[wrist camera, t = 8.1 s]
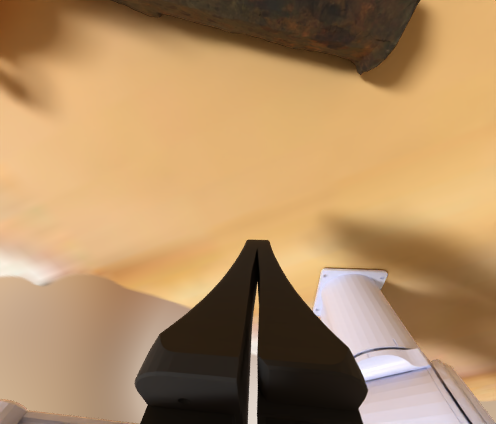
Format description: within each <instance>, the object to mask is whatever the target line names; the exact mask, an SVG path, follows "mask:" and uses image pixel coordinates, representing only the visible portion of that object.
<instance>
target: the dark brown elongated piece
mask: <svg viewBox="0 0 496 424" xmlns="http://www.w3.org/2000/svg"><path fill="white" fill-rule="evenodd" d="M112 1H114V2H117V3H121V4H123V5H126V6H129V7H130V8H132V9H134V10H136V11H139V12H141V13H144V14H146V15H148V16H153V17H160V16H161V15H162V14H166V15H170V16H174V17H177V18H181V19H185V20H188V21H192V22H195V23H199V24H203V25H207V26H211V27H215V28H218V29H221V30H224V31H227V32H231V33H241V34H246V35H250V36H253V37H258V38H262V39H264V40H267V41H269V42H274V43H277V44H280V45H283V46H287V47H290V48H293V49H305V50H308V51H318V52H322V53H326V54H332V55H336V56H339V57H342V58H346V59H349V60H350V61H352V62H353V63H354V64H355V65H356V69H357V72H358V73H359V74H360V75H361V74H362V73H363V72H366V71H369V70H371V69H373V68H375V67H377V66H378V65H379V64H380V63H381V62H382V61H383V60H385V59H386V58H387V56H388V55H389V54H390V53H391V52H392V50H393V49H394V48H395V46H396V45H397V43H398V41H399V39H400V37H401V35H402V33H403V31H404V29H405V28H406V26H407V24H408V22H409V20H410V18H411V16H412V14H413V12H414V10H415V8H416V6H417V5H418V3H419V1H420V0H112Z"/></svg>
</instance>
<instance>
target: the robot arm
mask: <svg viewBox="0 0 496 424" xmlns="http://www.w3.org/2000/svg"><path fill="white" fill-rule="evenodd" d="M387 276H388V273H387V272H386V271H384V270H359V269H332V268H324V269H322V271H321V275H320V280H319V284H318V289H317V294H316V298H315V303H314V307H313V311H312V310H311V309H310V308H309V307H308V305H307V304H306V303H305V302H304V301H303V300H302V298H301V297H300V296H299V295H298V293H297V292H296V291H295V289H294V288H293V286H292V285H291V284H290V282H289V281H288V279H287V278H286V276H285V274H284V273H283V271H282V269H281V267H280V266H279V264H278V262H277V260H276V258H275V256H274V253H273V251H272V248H271V245H270V242H269V241H268V240H247V241H246V243H245V245H244V248H243V249H242V251H241V253H240V255H239V256H238V258H237V259H236V261H235V263H234V264H233V265H232V267H231V268H230V269H229V271H228V272H227V274H226V275H225V276H224V277H223V279H222V280H221V281H220V282H219V283H218V284H217V285H216V287H215V288H214V289H213V290H212V291H211V292H210V293H209V294H208V295H207V296H206V297H205V298H204V299H203V300H202V301H201V302H199V303H198V304H197V305H196V306H195V307H194V308H192V309H191V310H190V311H189V312H188V313H187V314H186V315H184V316H183V317H182V318H180V319H179V320H178V321H177V322H175V323H174V324H173V325H171V326H170V327H169V328H167V329H166V330H165V331H163V332H162V333H160V334H159V336H158V338H157V339H156V341H155V343H154V344H153V346H152V348H151V349H150V351H149V353H148V355H147V357H146V359H145V361H144V363H143V365H142V367H141V369H140V371H139V373H138V375H137V377H136V379H135V387H136V389H137V391H138V392H139V394H140V395H141V396H142V397H143V399H144V400H145V402H146V403H147V404H148V406H147V408H146V411H145V413H144V416H143V418H142V421H141V423H140V424H248V401H249V376H250V355H251V334H252V319H253V311H254V304H255V296H256V289H257V281H258V296H259V329H258V355H257V356H258V401H257V424H496V423H495V422H494V421H493V419H492V418H491V417H490V415H489V414H488V413H487V411H486V410H485V409H484V407H483V406H482V405H481V404H480V402H479V401H478V400H477V398H476V397H475V396H474V394H473V393H472V392H471V390H470V389H469V388H468V387H467V385H466V384H465V383H464V381H463V380H462V379H461V377H460V376H459V375H458V374H457V372H456V371H455V370H454V368H453V367H451V366H449V365H447V364H445V363H442V362H441V361H440V360H439V359H436V360H433V361H431V362H432V363H431V362H430V360H429V359H428V358H427V357H426V356H425V355H424V353H423V352H422V351H421V349H420V348H419V346H418V345H417V343H416V342H415V340H414V339H413V337H412V336H411V334H410V333H409V332H408V330H407V329H406V327H405V326H404V324H403V323H402V321H401V320H400V318H399V317H398V315H397V314H396V312H395V311H394V310H393V308H392V307H391V305H390V304H389V302H388V301H387V299H386V298H385V296H384V295H383V293H382V292H381V289H382V287H383V284H384V282H385V280H386V278H387ZM317 316H320V318H321V320H320V319H319V318H318V317H317ZM0 424H137V423H129V422H121V421H112V420H104V419H95V418H87V417H78V416H70V415H61V414H53V413H45V412H36V411H28V410H27V408H26V407H24V406H23V405H21V404H19V403H17V402H14V401H11V400H5V399H0Z"/></svg>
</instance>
